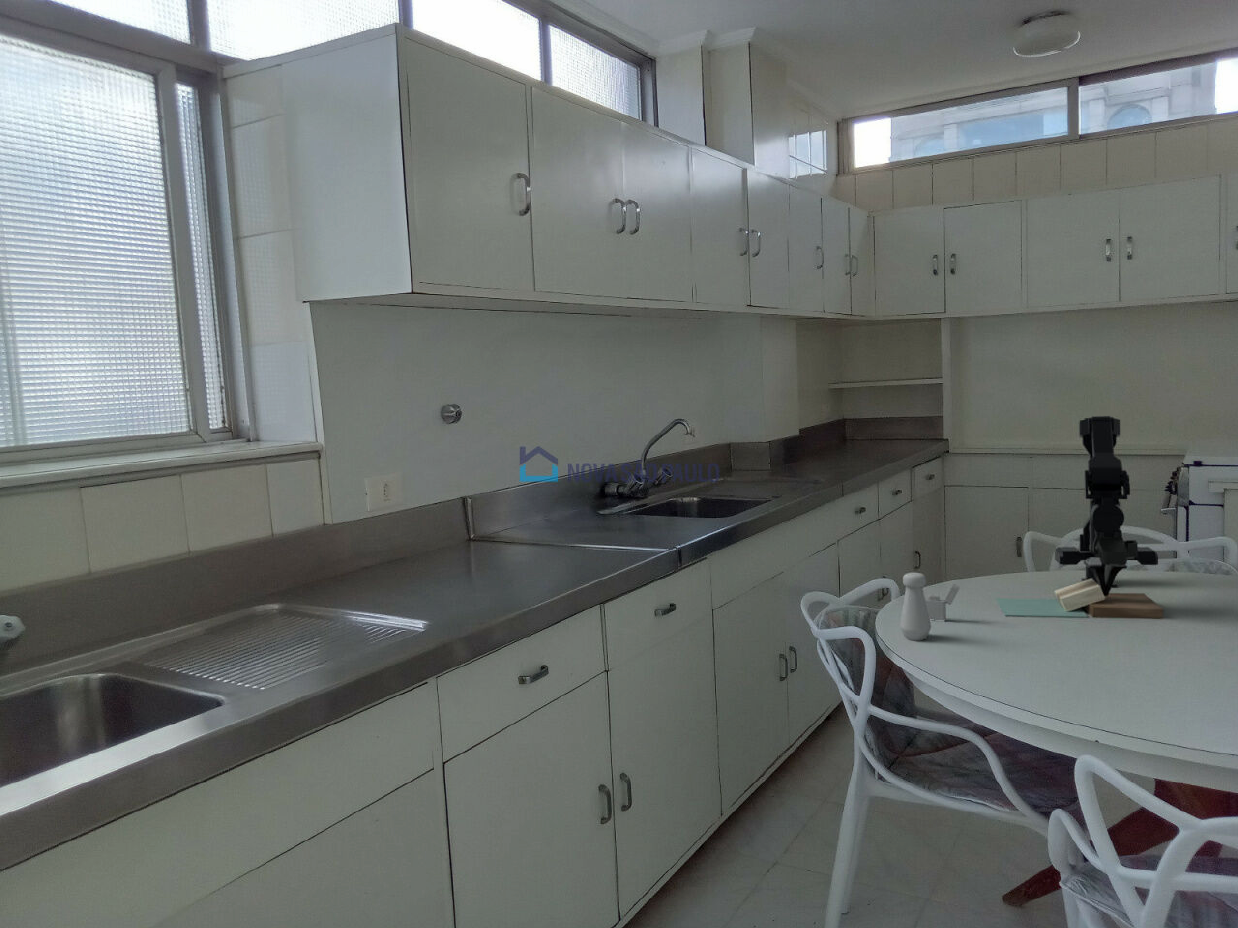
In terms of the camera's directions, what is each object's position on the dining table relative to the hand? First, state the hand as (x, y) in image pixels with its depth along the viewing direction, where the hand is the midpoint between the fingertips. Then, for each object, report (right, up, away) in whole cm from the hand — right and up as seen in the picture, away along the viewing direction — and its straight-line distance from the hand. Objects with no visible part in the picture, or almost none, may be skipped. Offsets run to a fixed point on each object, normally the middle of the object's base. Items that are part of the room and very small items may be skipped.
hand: (1105, 595), depth 191 cm
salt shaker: (-45, -7, -12) cm, 47 cm away
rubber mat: (-12, -3, +4) cm, 13 cm away
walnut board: (+3, -3, 0) cm, 4 cm away
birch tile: (-4, -1, +1) cm, 5 cm away
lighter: (-35, -5, -2) cm, 36 cm away
